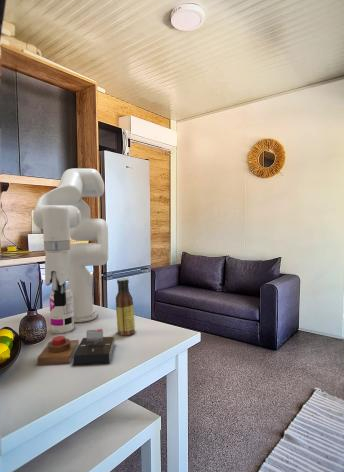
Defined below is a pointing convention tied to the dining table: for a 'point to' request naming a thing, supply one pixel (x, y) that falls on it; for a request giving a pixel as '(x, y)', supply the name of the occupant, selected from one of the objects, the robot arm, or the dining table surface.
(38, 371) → the dining table surface
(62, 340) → the button
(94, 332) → the grey flat block
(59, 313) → the supplement can
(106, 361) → the switch base
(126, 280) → the sauce bottle
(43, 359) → the button block
